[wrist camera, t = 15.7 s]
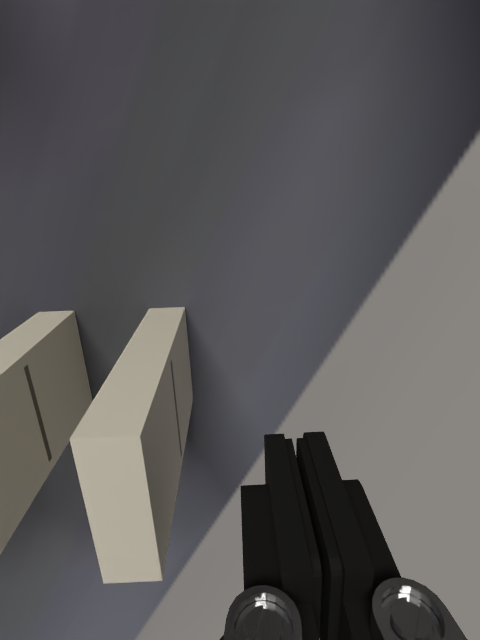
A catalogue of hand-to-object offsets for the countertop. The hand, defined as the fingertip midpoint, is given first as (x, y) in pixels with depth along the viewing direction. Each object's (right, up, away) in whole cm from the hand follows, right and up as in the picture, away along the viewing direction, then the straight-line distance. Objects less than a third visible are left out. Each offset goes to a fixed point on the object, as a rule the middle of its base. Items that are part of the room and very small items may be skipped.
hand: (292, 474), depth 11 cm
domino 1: (-10, +3, +7) cm, 12 cm away
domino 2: (-5, +3, +7) cm, 9 cm away
